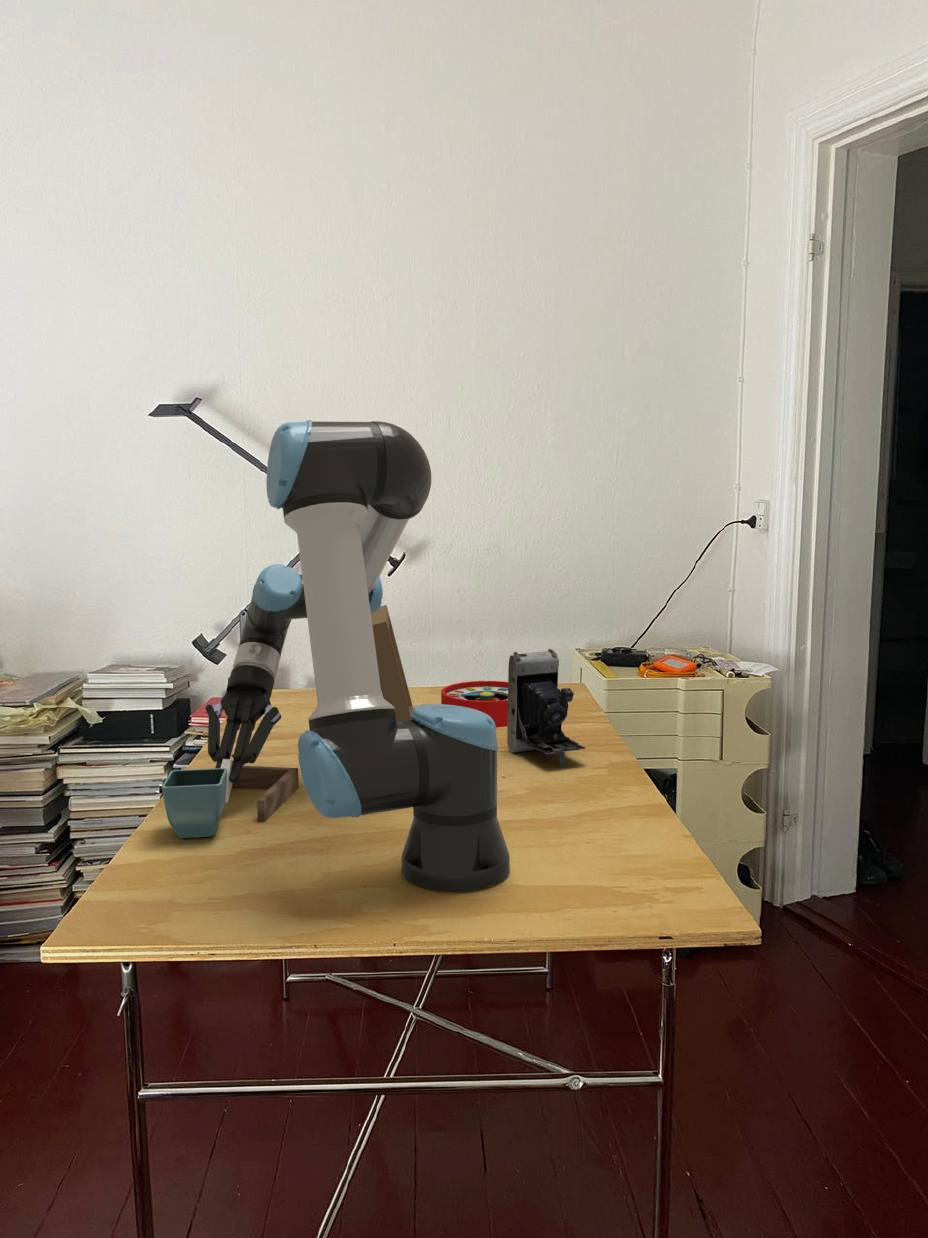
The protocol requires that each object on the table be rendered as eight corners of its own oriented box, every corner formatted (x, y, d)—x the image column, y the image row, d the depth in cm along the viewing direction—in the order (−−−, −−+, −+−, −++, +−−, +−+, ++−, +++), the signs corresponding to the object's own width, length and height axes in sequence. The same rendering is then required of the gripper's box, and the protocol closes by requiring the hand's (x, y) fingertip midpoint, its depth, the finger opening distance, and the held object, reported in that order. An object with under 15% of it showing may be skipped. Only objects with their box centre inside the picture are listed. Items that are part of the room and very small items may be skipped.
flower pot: (173, 824, 168) (170, 769, 167) (230, 821, 169) (227, 767, 167) (164, 844, 159) (160, 787, 158) (223, 842, 160) (221, 784, 159)
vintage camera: (542, 775, 193) (546, 668, 190) (504, 750, 207) (507, 650, 203) (588, 769, 197) (593, 664, 193) (548, 744, 211) (552, 646, 207)
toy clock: (533, 701, 223) (437, 701, 224) (533, 729, 224) (438, 728, 225) (531, 680, 242) (444, 680, 243) (531, 705, 243) (444, 705, 244)
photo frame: (414, 717, 233) (412, 604, 229) (417, 745, 211) (415, 621, 207) (346, 719, 232) (343, 605, 228) (342, 747, 210) (338, 622, 206)
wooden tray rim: (264, 821, 169) (264, 800, 168) (179, 817, 171) (178, 796, 171) (298, 787, 186) (298, 768, 185) (220, 783, 188) (219, 764, 187)
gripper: (210, 661, 181) (173, 787, 167) (284, 663, 179) (252, 790, 165) (223, 685, 187) (189, 808, 173) (295, 687, 185) (266, 812, 171)
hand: (220, 799), depth 169 cm, fingers closed
